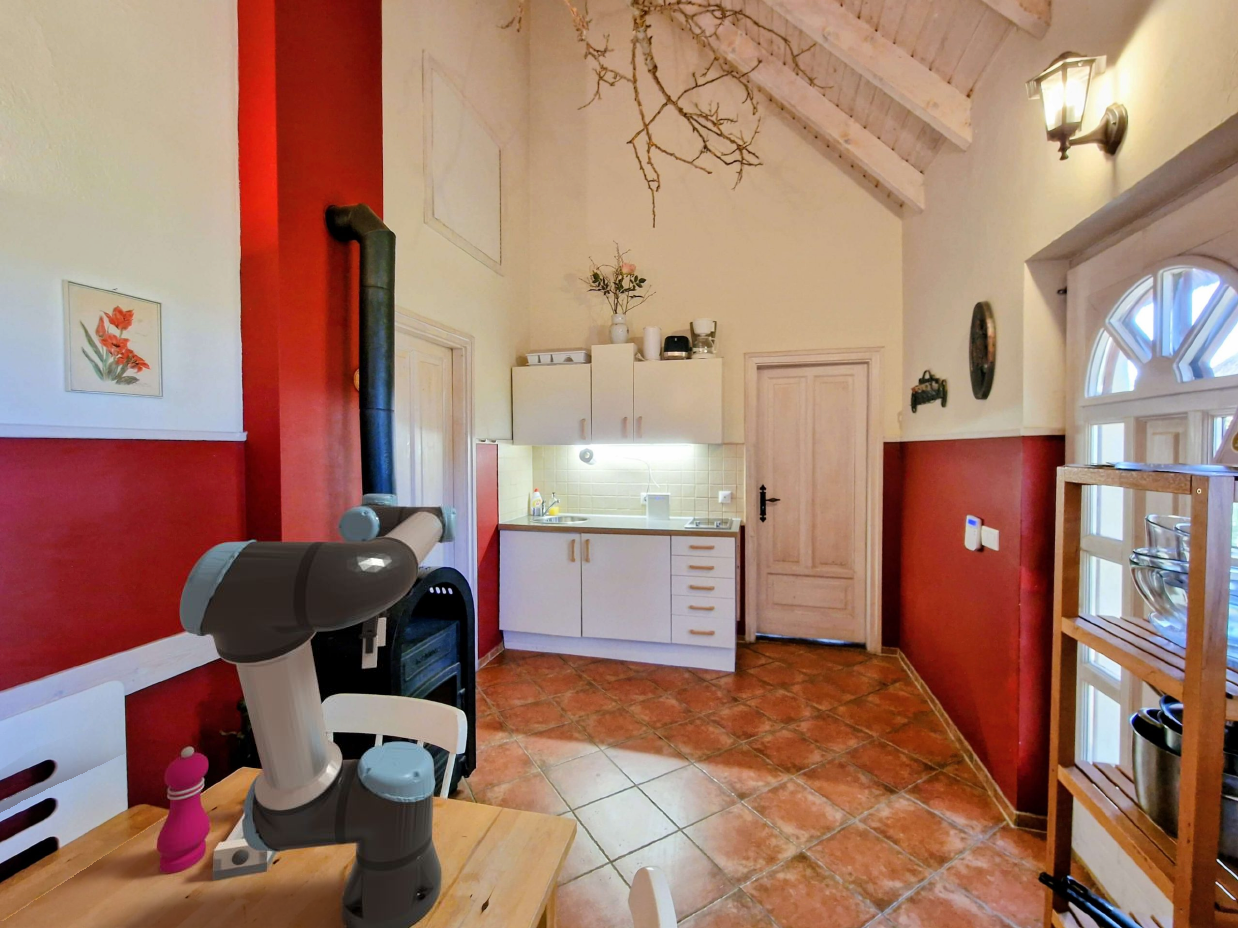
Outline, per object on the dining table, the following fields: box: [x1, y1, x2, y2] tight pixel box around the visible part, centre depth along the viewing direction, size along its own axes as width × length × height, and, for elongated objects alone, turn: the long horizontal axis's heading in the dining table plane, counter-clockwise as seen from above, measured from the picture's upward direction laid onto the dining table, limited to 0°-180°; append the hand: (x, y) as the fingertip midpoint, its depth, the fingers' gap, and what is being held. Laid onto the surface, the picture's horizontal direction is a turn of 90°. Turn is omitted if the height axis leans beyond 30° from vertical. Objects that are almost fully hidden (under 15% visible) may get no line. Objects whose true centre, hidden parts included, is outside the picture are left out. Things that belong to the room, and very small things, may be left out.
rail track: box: [212, 812, 277, 881], centre depth 97 cm, size 23×8×5 cm, turn 16°
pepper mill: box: [156, 746, 211, 874], centre depth 90 cm, size 7×7×20 cm
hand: (374, 655), depth 113 cm, fingers open, 13 cm apart
